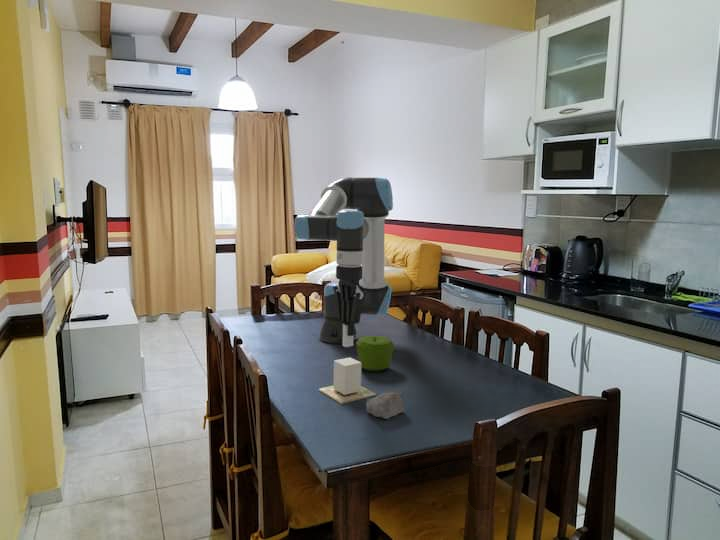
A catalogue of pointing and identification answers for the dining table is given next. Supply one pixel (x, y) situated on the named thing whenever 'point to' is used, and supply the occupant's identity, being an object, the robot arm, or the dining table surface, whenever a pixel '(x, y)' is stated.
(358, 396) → the square base with post
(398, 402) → the stone
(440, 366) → the dining table surface
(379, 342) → the green apple
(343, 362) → the cream cuboid
